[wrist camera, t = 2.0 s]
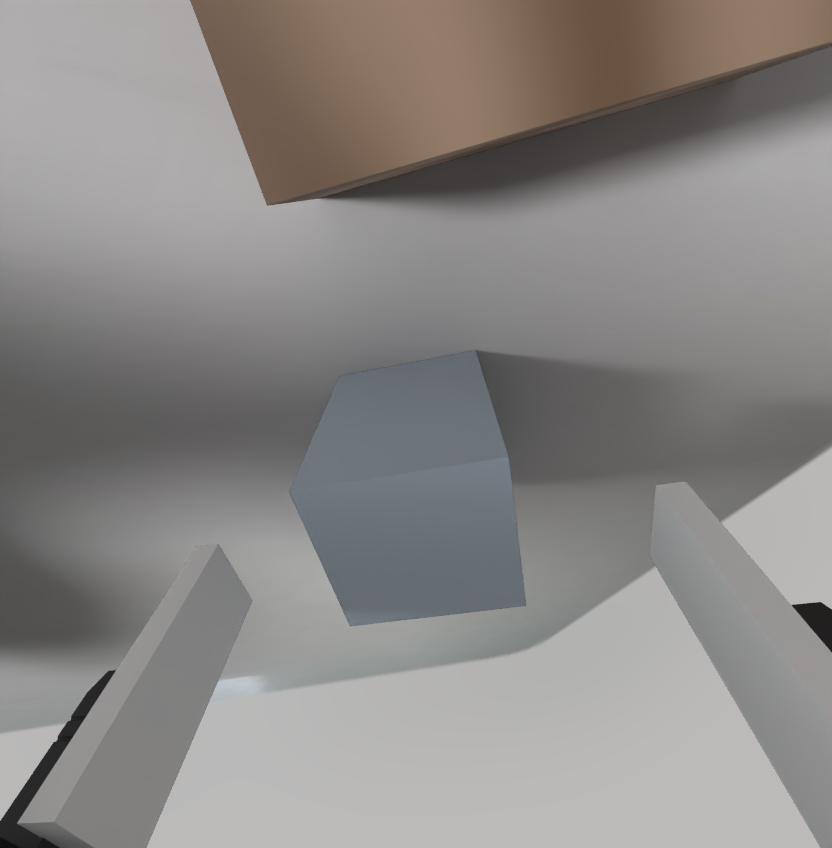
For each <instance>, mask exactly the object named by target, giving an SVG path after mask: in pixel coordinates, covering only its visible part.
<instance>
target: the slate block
mask: <svg viewBox="0 0 832 848" xmlns="http://www.w3.org/2000/svg"><path fill="white" fill-rule="evenodd" d="M289 493H290V495H291V497H292V499H293V502H294V504H295V506H296V508H297V510H298V513H299V515H300V517H301V519H302V521H303V524H304V526H305V528H306V530H307V532H308V535H309V537H310V539H311V541H312V544H313V546H314V548H315V550H316V552H317V555H318V557H319V559H320V561H321V563H322V566H323V568H324V570H325V572H326V574H327V577H328V579H329V581H330V583H331V585H332V588H333V590H334V592H335V594H336V596H337V599H338V601H339V603H340V605H341V607H342V610H343V612H344V614H345V616H346V618H347V621H348V623H349V625H350V626H357V625H366V624H374V623H383V622H391V621H400V620H408V619H417V618H426V617H434V616H443V615H451V614H460V613H468V612H477V611H485V610H494V609H502V608H511V607H520V606H526V600H525V592H524V583H523V575H522V566H521V558H520V549H519V541H518V532H517V523H516V515H515V506H514V498H513V489H512V481H511V472H510V464H509V456H508V453H507V450H506V447H505V443H504V440H503V437H502V434H501V431H500V427H499V424H498V421H497V418H496V414H495V411H494V408H493V405H492V402H491V398H490V395H489V392H488V389H487V385H486V382H485V379H484V376H483V373H482V369H481V366H480V363H479V360H478V356H477V353H476V350H474V351H468V352H463V353H458V354H453V355H447V356H442V357H437V358H431V359H426V360H421V361H416V362H410V363H405V364H400V365H395V366H389V367H384V368H379V369H373V370H368V371H363V372H358V373H352V374H347V375H342V376H339V379H338V381H337V383H336V385H335V388H334V390H333V392H332V395H331V397H330V399H329V401H328V404H327V406H326V408H325V411H324V413H323V415H322V417H321V420H320V422H319V424H318V427H317V429H316V431H315V433H314V436H313V438H312V440H311V443H310V445H309V447H308V449H307V452H306V454H305V456H304V459H303V461H302V463H301V465H300V468H299V470H298V472H297V475H296V477H295V479H294V481H293V484H292V486H291V488H290V491H289Z"/></svg>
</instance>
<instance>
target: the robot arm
mask: <svg viewBox="0 0 832 848" xmlns="http://www.w3.org/2000/svg"><path fill="white" fill-rule="evenodd" d="M649 556H650V557H651V559H652V561H653V562H654V564H655V566H656V568H657V569H658V571H659V573H660V574H661V576H662V578H663V579H664V581H665V583H666V584H667V586H668V588H669V590H670V591H671V593H672V595H673V597H674V598H675V600H676V601H677V603H678V605H679V607H680V609H681V610H682V612H683V614H684V615H685V617H686V619H687V620H688V622H689V624H690V626H691V627H692V629H693V631H694V632H695V634H696V636H697V638H698V639H699V641H700V643H701V644H702V646H703V648H704V650H705V651H706V653H707V655H708V656H709V658H710V660H711V662H712V663H713V665H714V667H715V668H716V670H717V672H718V673H719V675H720V677H721V679H722V680H723V682H724V684H725V685H726V687H727V689H728V691H729V692H730V694H731V696H732V697H733V699H734V701H735V702H736V704H737V706H738V708H739V709H740V711H741V713H742V714H743V716H744V718H745V719H746V721H747V723H748V725H749V726H750V728H751V730H752V731H753V733H754V735H755V737H756V738H757V740H758V742H759V743H760V745H761V747H762V749H763V750H764V752H765V754H766V755H767V757H768V759H769V760H770V762H771V764H772V766H773V767H774V769H775V771H776V772H777V774H778V776H779V778H780V779H781V781H782V783H783V784H784V786H785V788H786V789H787V791H788V793H789V795H790V796H791V798H792V800H793V801H794V803H795V805H796V807H797V808H798V810H799V812H800V813H801V815H802V817H803V819H804V820H805V822H806V824H807V825H808V827H809V829H810V831H811V832H812V834H813V835H814V837H815V839H816V841H817V843H818V844H819V846H820V848H832V609H830V608H828V607H827V606H825V605H824V604H823V603H821V602H818V603H807V604H797V605H791V604H790V603H789V602H788V601H787V600H786V598H785V597H784V596H783V595H782V594H781V593H780V591H779V590H778V589H777V588H776V587H775V585H774V584H773V583H772V582H771V581H770V580H769V579H768V577H767V576H766V575H765V574H764V573H763V572H762V570H761V569H760V568H759V567H758V566H757V565H756V563H755V562H754V561H753V560H752V559H751V557H750V556H749V555H748V554H747V553H746V552H745V550H744V549H743V548H742V547H741V546H740V544H739V543H738V542H737V541H736V540H735V539H734V537H733V536H732V535H731V534H730V533H729V532H728V530H727V529H726V528H725V527H724V526H723V525H722V523H721V522H720V521H719V520H718V519H717V518H716V516H715V515H714V514H713V513H712V512H711V510H710V509H709V508H708V507H707V506H706V505H705V503H704V502H703V501H702V500H701V499H700V498H699V496H698V495H697V494H696V493H695V492H694V491H693V489H692V488H691V487H690V486H689V485H688V484H687V482H686V481H684V482H676V483H669V484H661V485H656V491H655V501H654V512H653V522H652V533H651V543H650V554H649ZM252 601H253V600H252V599H251V597H250V595H249V594H248V592H247V590H246V589H245V587H244V585H243V584H242V582H241V580H240V579H239V577H238V575H237V574H236V572H235V570H234V569H233V567H232V565H231V564H230V562H229V560H228V559H227V557H226V555H225V554H224V552H223V551H222V549H221V547H220V546H219V544H213V545H206V546H198V547H196V548H195V550H194V551H193V553H192V554H191V556H190V557H189V559H188V560H187V562H186V564H185V565H184V567H183V568H182V570H181V571H180V573H179V574H178V576H177V577H176V579H175V580H174V582H173V584H172V585H171V587H170V588H169V590H168V591H167V593H166V594H165V596H164V597H163V599H162V601H161V602H160V604H159V605H158V607H157V608H156V610H155V611H154V613H153V614H152V616H151V617H150V619H149V621H148V622H147V624H146V625H145V627H144V628H143V630H142V631H141V633H140V634H139V636H138V638H137V639H136V641H135V642H134V644H133V645H132V647H131V648H130V650H129V651H128V653H127V654H126V656H125V658H124V659H123V661H122V662H121V664H120V665H119V667H118V668H117V670H113V671H108V672H107V673H106V674H105V675H104V676H103V677H102V678H101V679H100V680H99V681H98V682H97V683H96V684H95V685H94V686H93V687H92V688H91V689H90V690H89V691H88V692H87V694H86V695H85V697H84V698H83V700H82V701H81V703H80V704H79V706H78V707H77V709H76V710H75V712H74V713H73V715H72V716H71V717H72V718H71V721H68V722H67V724H66V725H65V727H64V728H63V729H62V731H61V732H60V734H59V735H58V740H57V741H56V742H54V743H53V744H52V746H51V747H50V749H49V750H48V752H47V753H46V755H45V756H44V758H43V759H42V761H41V762H40V763H39V765H38V766H37V768H36V769H35V771H34V772H33V774H32V775H31V777H30V779H29V780H28V781H27V783H26V784H25V786H24V787H23V789H22V790H21V792H20V793H19V795H18V796H17V798H16V799H15V800H14V802H13V803H12V805H11V806H10V808H9V809H8V811H7V812H6V814H5V815H4V817H3V818H2V819H1V821H0V848H146V847H147V845H148V842H149V840H150V838H151V836H152V833H153V831H154V829H155V826H156V824H157V822H158V819H159V817H160V815H161V812H162V810H163V808H164V805H165V803H166V801H167V798H168V796H169V793H170V791H171V789H172V787H173V784H174V782H175V780H176V777H177V775H178V773H179V770H180V768H181V766H182V763H183V761H184V759H185V756H186V754H187V752H188V750H189V747H190V745H191V743H192V740H193V738H194V735H195V733H196V731H197V728H198V726H199V724H200V722H201V719H202V717H203V715H204V712H205V710H206V707H207V705H208V703H209V701H210V698H211V696H212V694H213V691H214V689H215V687H216V684H217V682H218V680H219V677H220V675H221V673H222V670H223V668H224V666H225V664H226V661H227V659H228V657H229V654H230V652H231V650H232V647H233V645H234V643H235V640H236V638H237V636H238V633H239V631H240V629H241V626H242V624H243V622H244V619H245V617H246V615H247V612H248V610H249V608H250V605H251V603H252Z"/></svg>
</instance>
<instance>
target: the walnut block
mask: <svg viewBox="0 0 832 848" xmlns="http://www.w3.org/2000/svg"><path fill="white" fill-rule="evenodd" d="M190 1H191V3H192V6H193V9H194V11H195V14H196V17H197V19H198V22H199V25H200V27H201V30H202V33H203V36H204V38H205V41H206V44H207V46H208V49H209V52H210V54H211V57H212V60H213V62H214V65H215V68H216V70H217V73H218V76H219V78H220V81H221V84H222V86H223V89H224V92H225V94H226V97H227V100H228V102H229V105H230V108H231V110H232V113H233V116H234V118H235V121H236V124H237V126H238V129H239V132H240V134H241V137H242V140H243V142H244V145H245V148H246V150H247V153H248V156H249V158H250V161H251V164H252V166H253V169H254V172H255V174H256V177H257V180H258V182H259V185H260V188H261V190H262V193H263V196H264V198H265V201H266V204H267V205H275V204H282V203H289V202H296V201H304V200H311V199H318V198H322V197H325V196H329V195H332V194H336V193H339V192H343V191H346V190H350V189H353V188H357V187H360V186H364V185H367V184H370V183H374V182H377V181H381V180H384V179H388V178H391V177H395V176H398V175H402V174H405V173H409V172H412V171H416V170H419V169H423V168H426V167H429V166H433V165H436V164H440V163H443V162H447V161H450V160H454V159H457V158H461V157H464V156H468V155H471V154H475V153H478V152H482V151H485V150H488V149H492V148H495V147H499V146H502V145H506V144H509V143H513V142H516V141H520V140H523V139H527V138H530V137H534V136H537V135H541V134H544V133H547V132H551V131H554V130H558V129H561V128H565V127H568V126H572V125H575V124H579V123H582V122H586V121H589V120H593V119H596V118H600V117H603V116H606V115H610V114H613V113H617V112H620V111H624V110H627V109H631V108H634V107H638V106H641V105H645V104H648V103H652V102H655V101H659V100H662V99H665V98H669V97H672V96H676V95H679V94H683V93H686V92H690V91H693V90H697V89H700V88H704V87H707V86H711V85H714V84H718V83H721V82H725V81H728V80H731V79H735V78H738V77H741V76H744V75H747V74H750V73H753V72H756V71H759V70H762V69H765V68H768V67H771V66H774V65H777V64H780V63H783V62H786V61H789V60H792V59H795V58H798V57H801V56H804V55H807V54H809V53H812V52H815V51H818V50H821V49H824V48H827V47H830V46H832V0H190Z"/></svg>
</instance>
